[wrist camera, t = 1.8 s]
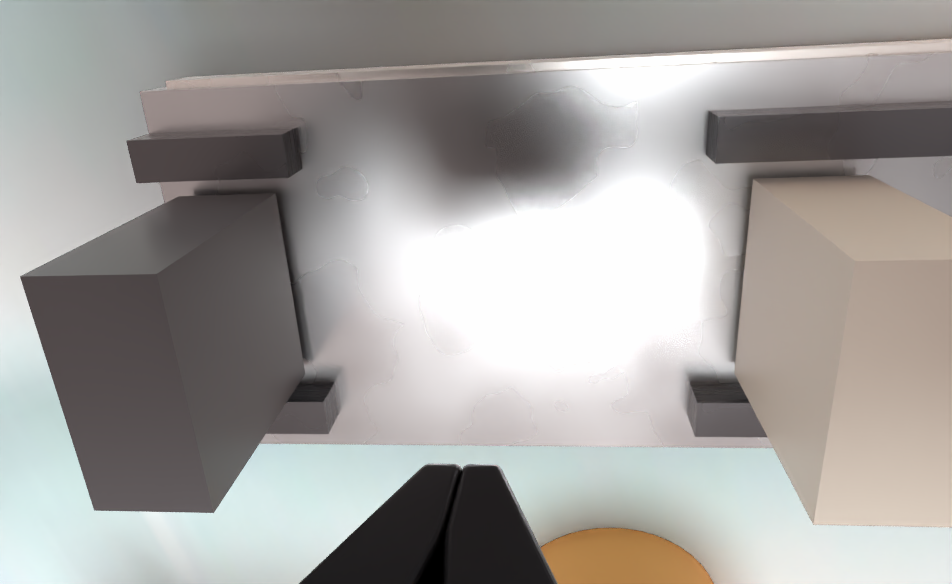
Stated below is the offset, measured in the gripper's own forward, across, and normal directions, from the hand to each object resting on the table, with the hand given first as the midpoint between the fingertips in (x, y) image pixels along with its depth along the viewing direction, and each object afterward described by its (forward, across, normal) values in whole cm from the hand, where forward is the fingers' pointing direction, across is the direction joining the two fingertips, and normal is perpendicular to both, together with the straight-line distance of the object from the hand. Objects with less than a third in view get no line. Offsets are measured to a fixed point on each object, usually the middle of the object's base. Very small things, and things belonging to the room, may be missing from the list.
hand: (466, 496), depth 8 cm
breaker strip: (+9, -2, 0) cm, 9 cm away
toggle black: (+7, +5, 0) cm, 9 cm away
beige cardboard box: (+7, -6, 0) cm, 9 cm away
